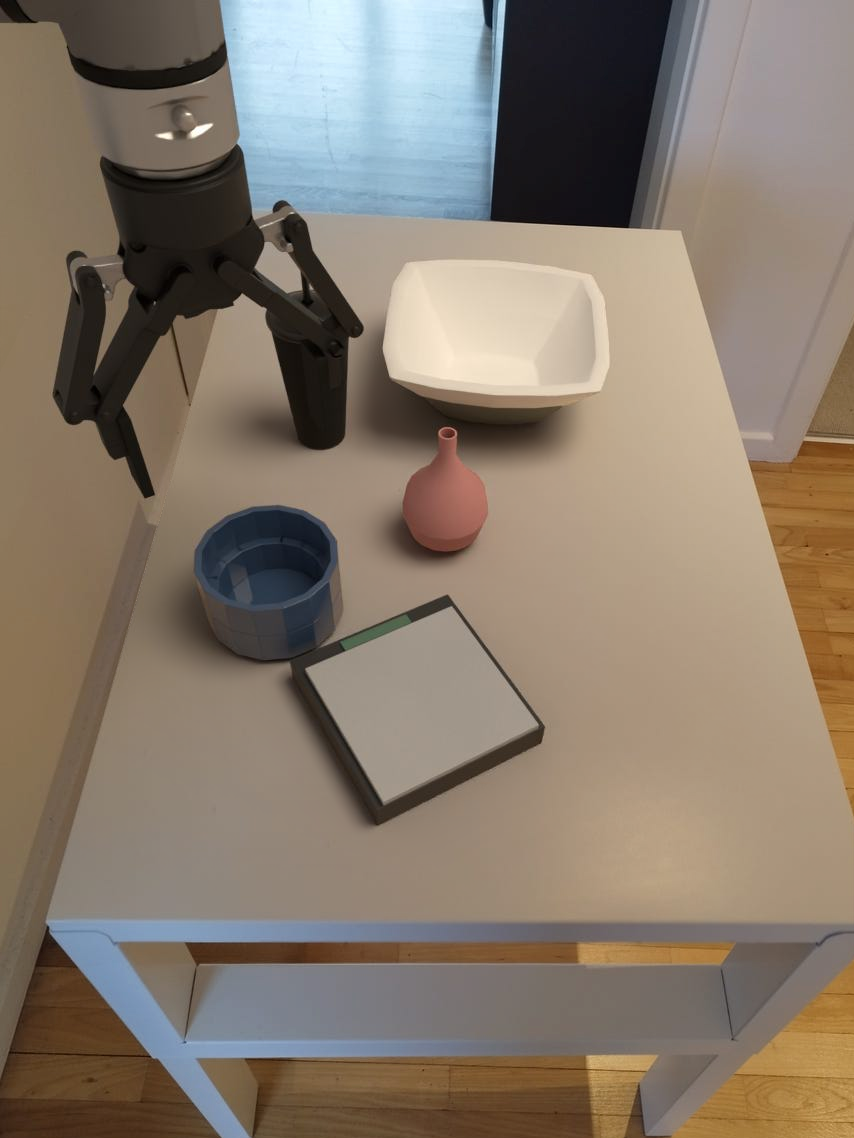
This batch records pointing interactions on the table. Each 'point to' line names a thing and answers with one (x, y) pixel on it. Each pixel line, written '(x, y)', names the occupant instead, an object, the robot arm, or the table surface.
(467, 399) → the bowl
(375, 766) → the scale
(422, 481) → the pink bud vase
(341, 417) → the drinking cup
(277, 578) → the blue bowl
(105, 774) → the table surface
